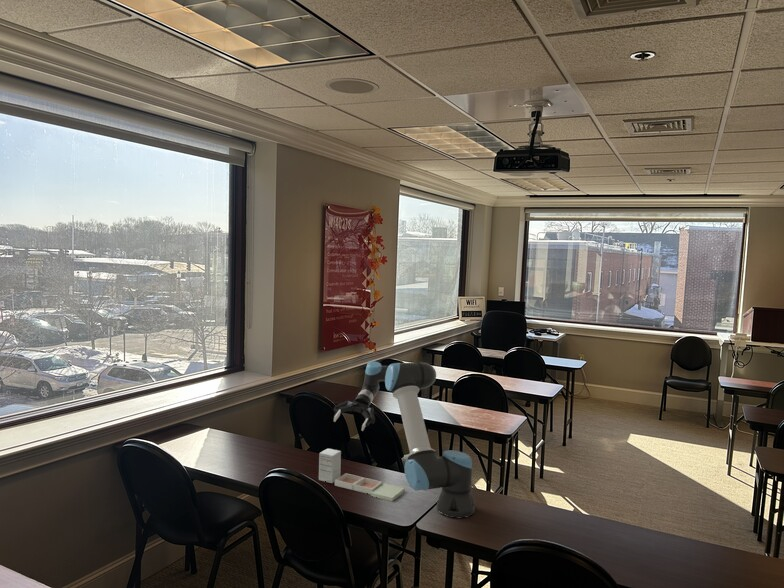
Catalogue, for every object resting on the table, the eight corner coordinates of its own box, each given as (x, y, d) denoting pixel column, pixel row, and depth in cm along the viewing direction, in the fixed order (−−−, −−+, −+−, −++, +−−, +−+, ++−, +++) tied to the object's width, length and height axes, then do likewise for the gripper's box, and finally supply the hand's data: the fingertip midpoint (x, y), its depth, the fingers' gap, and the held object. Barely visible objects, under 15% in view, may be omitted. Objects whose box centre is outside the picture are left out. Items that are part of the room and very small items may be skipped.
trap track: (404, 491, 239) (404, 485, 239) (392, 501, 228) (392, 495, 228) (347, 477, 252) (347, 472, 252) (332, 486, 241) (333, 481, 241)
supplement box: (326, 474, 255) (327, 447, 254) (340, 478, 251) (341, 450, 251) (318, 480, 248) (318, 452, 247) (332, 483, 245) (332, 455, 244)
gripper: (386, 414, 270) (373, 438, 250) (338, 399, 274) (322, 422, 255) (388, 401, 267) (375, 425, 247) (340, 386, 272) (324, 408, 252)
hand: (348, 423), depth 251 cm, fingers open, 13 cm apart
